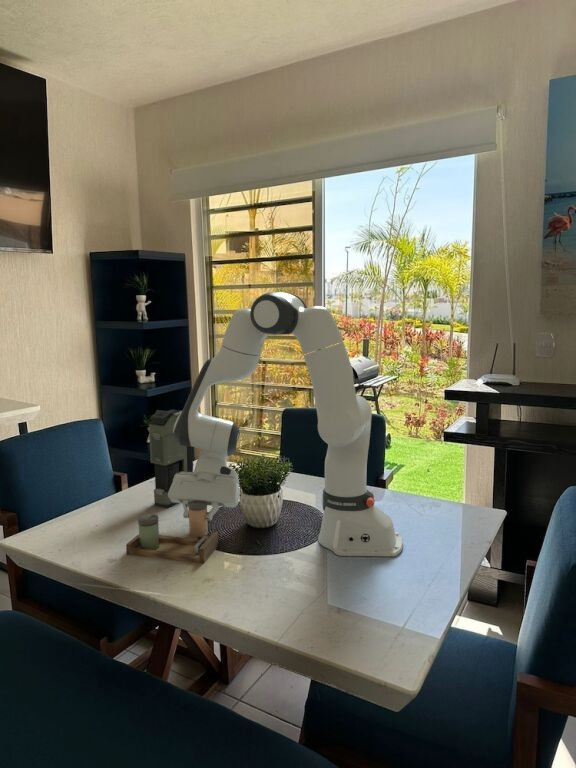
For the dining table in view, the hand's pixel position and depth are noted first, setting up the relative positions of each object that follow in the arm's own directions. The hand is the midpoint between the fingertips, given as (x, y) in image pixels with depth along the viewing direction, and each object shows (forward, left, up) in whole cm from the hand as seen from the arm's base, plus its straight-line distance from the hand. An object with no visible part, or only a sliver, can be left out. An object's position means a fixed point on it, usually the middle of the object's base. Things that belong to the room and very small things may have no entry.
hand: (197, 518), depth 150 cm
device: (+18, -24, -5) cm, 30 cm away
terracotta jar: (0, -1, -5) cm, 5 cm away
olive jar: (+9, +10, -5) cm, 15 cm away
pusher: (-6, +10, -4) cm, 13 cm away
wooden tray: (+3, +10, -5) cm, 12 cm away
